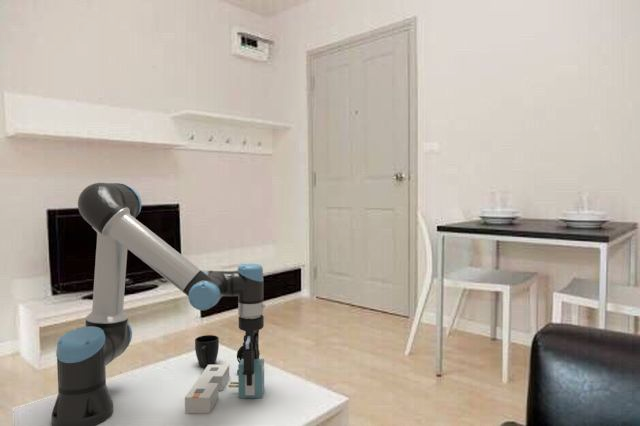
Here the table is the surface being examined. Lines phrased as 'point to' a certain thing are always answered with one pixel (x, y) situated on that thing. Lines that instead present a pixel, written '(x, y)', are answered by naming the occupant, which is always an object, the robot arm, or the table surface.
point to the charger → (258, 379)
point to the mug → (206, 350)
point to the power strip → (206, 389)
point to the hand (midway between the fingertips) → (251, 390)
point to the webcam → (240, 354)
